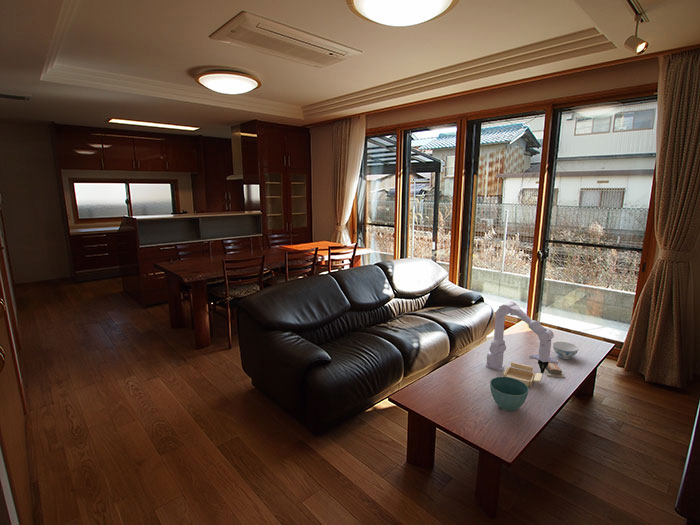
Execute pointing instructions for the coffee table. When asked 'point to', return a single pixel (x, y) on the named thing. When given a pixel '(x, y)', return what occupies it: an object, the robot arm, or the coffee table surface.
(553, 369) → the packaged product
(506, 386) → the teal green bowl
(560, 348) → the chinaware
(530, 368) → the left flap
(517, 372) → the carton
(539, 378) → the far flap
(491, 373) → the coffee table surface
